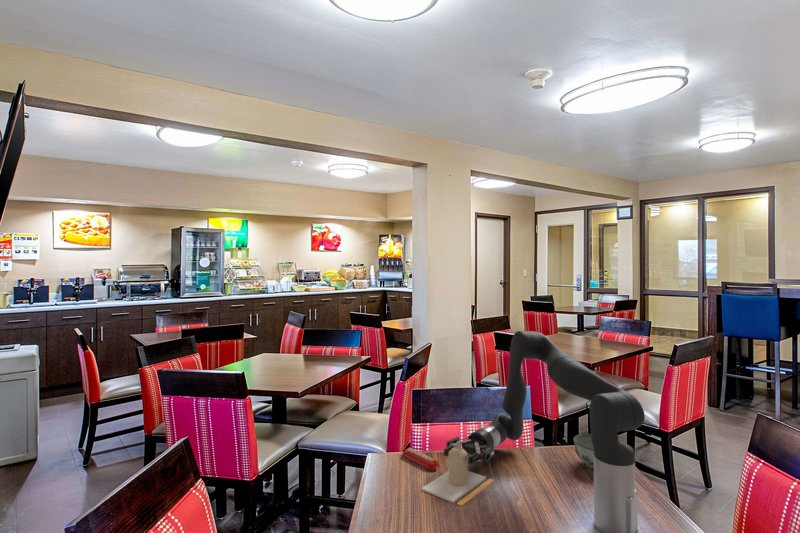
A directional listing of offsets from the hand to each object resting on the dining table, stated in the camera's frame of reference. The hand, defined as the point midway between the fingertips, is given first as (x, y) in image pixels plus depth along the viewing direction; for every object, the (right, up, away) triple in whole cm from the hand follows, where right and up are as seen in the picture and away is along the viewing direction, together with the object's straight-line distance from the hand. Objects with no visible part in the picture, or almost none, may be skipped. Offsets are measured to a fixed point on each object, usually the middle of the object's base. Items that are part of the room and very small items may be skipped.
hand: (457, 457), depth 133 cm
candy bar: (-10, -9, +15) cm, 20 cm away
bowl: (+46, -8, +11) cm, 48 cm away
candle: (0, -8, 0) cm, 8 cm away
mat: (-1, -8, 0) cm, 8 cm away
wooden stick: (+5, -8, -5) cm, 11 cm away
